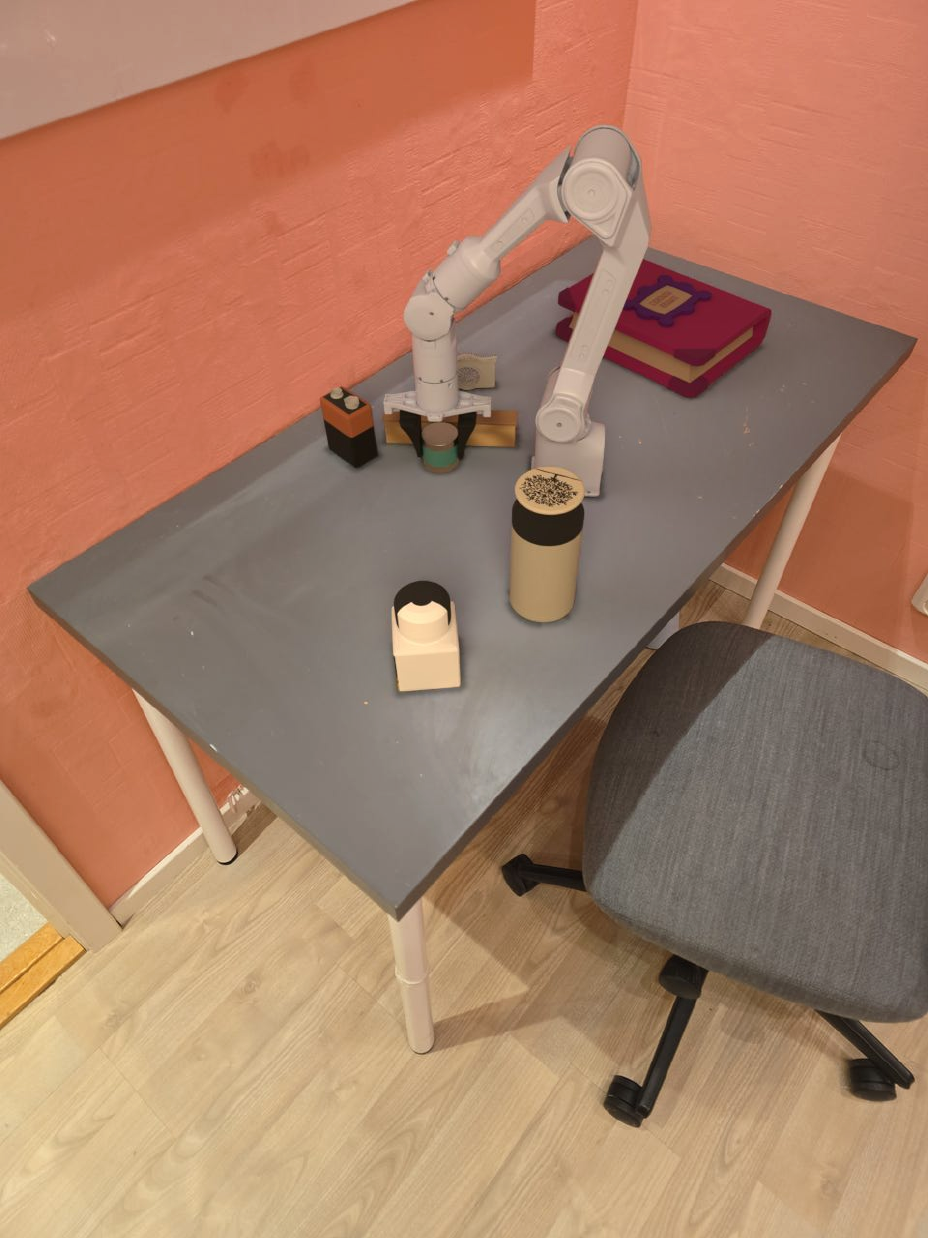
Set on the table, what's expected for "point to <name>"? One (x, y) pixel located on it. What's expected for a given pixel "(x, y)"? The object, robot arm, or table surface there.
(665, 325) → the book
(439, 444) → the tin can
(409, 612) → the cream block figurine
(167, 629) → the table surface
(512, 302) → the table surface
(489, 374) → the lattice window wall
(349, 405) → the battery
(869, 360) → the table surface
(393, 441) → the wooden block
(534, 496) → the travel mug
